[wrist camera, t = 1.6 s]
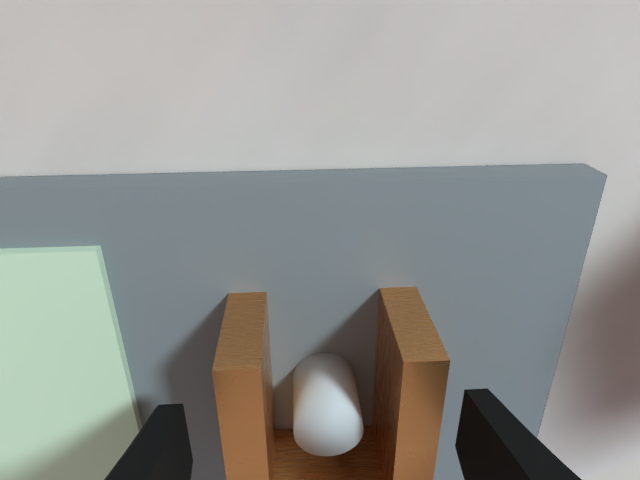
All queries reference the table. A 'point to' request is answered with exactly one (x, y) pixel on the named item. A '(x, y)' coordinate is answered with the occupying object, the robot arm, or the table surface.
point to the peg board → (273, 298)
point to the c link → (388, 398)
